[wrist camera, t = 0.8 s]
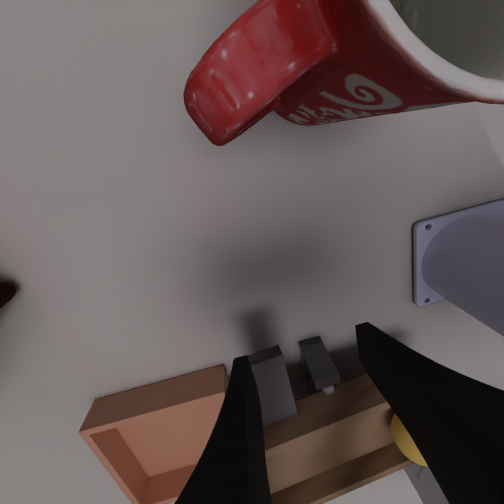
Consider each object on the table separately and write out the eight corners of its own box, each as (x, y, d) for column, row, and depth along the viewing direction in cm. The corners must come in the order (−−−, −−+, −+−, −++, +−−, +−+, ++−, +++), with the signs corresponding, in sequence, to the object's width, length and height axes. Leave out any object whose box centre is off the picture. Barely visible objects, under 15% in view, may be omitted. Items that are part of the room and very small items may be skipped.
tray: (223, 364, 24) (224, 391, 21) (254, 446, 29) (258, 477, 26) (95, 399, 24) (78, 432, 21) (146, 476, 28) (138, 511, 26)
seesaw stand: (319, 336, 24) (340, 375, 20) (335, 424, 29) (355, 472, 25) (298, 341, 24) (314, 382, 20) (317, 429, 29) (334, 477, 24)
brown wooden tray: (414, 290, 20) (451, 312, 17) (415, 421, 26) (443, 454, 23) (216, 361, 18) (220, 398, 16) (264, 485, 24) (273, 528, 21)
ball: (421, 386, 22) (467, 432, 18) (420, 418, 23) (464, 466, 20) (378, 404, 21) (417, 454, 18) (381, 435, 23) (417, 487, 19)
